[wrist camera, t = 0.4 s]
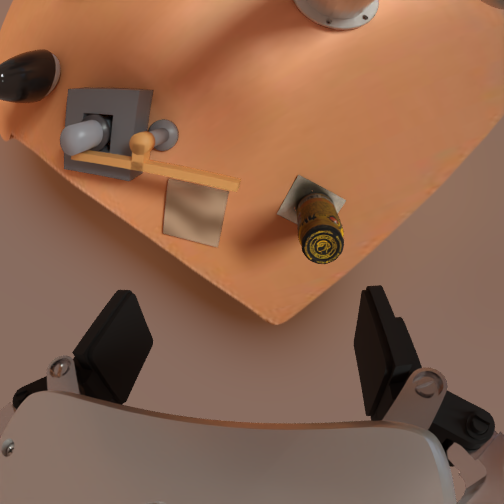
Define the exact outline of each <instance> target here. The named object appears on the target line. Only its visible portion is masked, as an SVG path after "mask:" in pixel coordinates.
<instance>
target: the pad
mask: <svg viewBox="0 0 504 504" xmlns="http://www.w3.org/2000/svg"><path fill="white" fill-rule="evenodd" d="M228 194H229V192H228V191H224V190H220V189H215V188H211V187H207V186H202V185H198V184H193V183H189V182H184V181H179V180H175V179H170V178H169V179H168V185H167V195H166V204H165V215H164V227H163V234H167V235H171V236H175V237H179V238H183V239H187V240H191V241H194V242H198V243H202V244H206V245H210V246H214V247H218V245H219V239H220V234H221V229H222V224H223V219H224V214H225V209H226V204H227V199H228Z"/></svg>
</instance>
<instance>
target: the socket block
mask: <svg viewBox="0 0 504 504" xmlns="http://www.w3.org/2000/svg"><path fill="white" fill-rule="evenodd" d="M152 95H153V90H144V89H129V88H75V89H68V97H67V107H66V119H65V127H67V126H69V125H73V124H76V123H80V122H81V121H82V120H83V119H84V118H85V117H86V116H89V115H93V114H107V115H113V121H112V131H111V143H110V145H106V146H105V147H104V148H103V149H101V150H99V151H98V152H105V153H112V154H118V155H124V156H130V157H132V151H131V149H130V146H129V142H130V139H131V137H132V136H133V135H134V134H137V133H140V132H143V131H147V128H148V121H149V114H150V107H151V101H152ZM148 132H151V133H152V134H153V135H154V137H155V146H154V148H155V149H157V150H160V151H165V150H168V149H170V148H172V147H173V146H174V145H175V144H176V142H177V140H178V129H177V127H176V125H175V124H174V123H173V122H171V121H169V120H165V119H163V120H158V121H156V122H154V123H153V124H152V125H151V127H150V128H149V131H148ZM64 169H67V170H73V171H79V172H84V173H90V174H95V175H101V176H106V177H111V178H116V179H121V180H126V181H131V180H132V179H134V178H135V177H137V176H139V175H140V174H142V173H143V172H141V171H136V170H131V169H125V168H120V167H114V166H108V165H103V164H97V163H90V162H84V161H78V160H71V156H70V155H67V154H66V153H65V152H64Z"/></svg>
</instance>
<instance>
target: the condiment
mask: <svg viewBox="0 0 504 504" xmlns="http://www.w3.org/2000/svg"><path fill="white" fill-rule="evenodd" d="M312 190H313V191H312ZM345 201H346V200H344V199H343V198H341V197H339V196H337V195H336V194H334V193H332V192H330V191H328V190H326V189H325V188H323V187H321V186H319V185H317V184H315V183H313V182H311V181H309V180H307V179H305V178H303V177H302V176H300V175H298V177H297V179H296V180H295V182H294V184H293V186H292V187H291V189H290V191H289V193H288V195H287V196H286V198H285V200H284V202H283V204H282V205H281V207H280V209H279V211H278V213H277V214H278V215H280V216H281V217H284V218H286V219H287V220H290V221H292V222H294V223H296V224H297V225H298V238H299V242H300V244H301V246H302V251H303V253H304V255H305V256H306V257H307V258H308V259H309V260H310V261H312V262H315V263H317V264H327V263H330V262H332V261H334V260H336V259H337V258H338V256H339V255H340V254H341V253H342V251H343V247H344V239H343V227H342V224H341V222H340V219H339V216H338V212H339V211H340V209H341V208H342V206H343V205H344V203H345ZM294 207H295V209H294ZM295 210H296V211H295Z"/></svg>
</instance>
